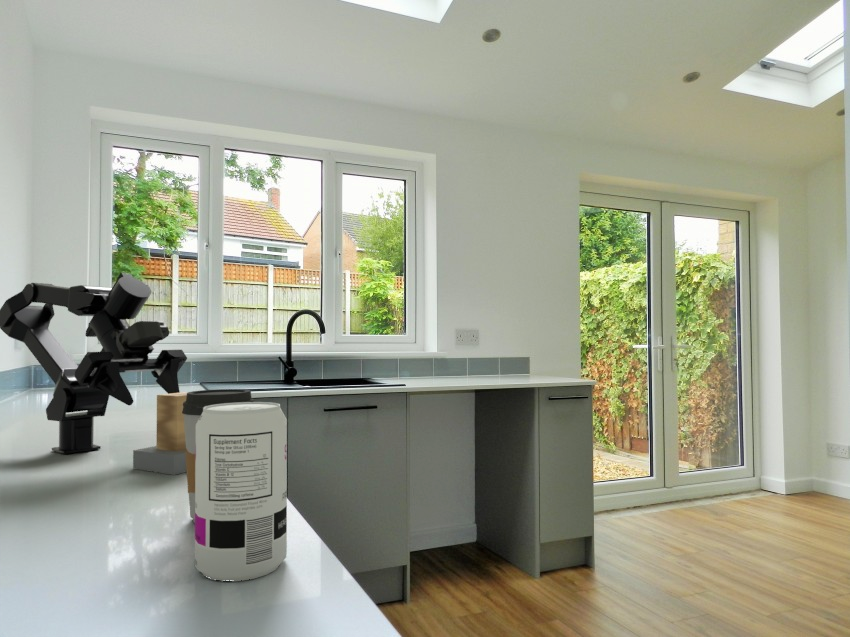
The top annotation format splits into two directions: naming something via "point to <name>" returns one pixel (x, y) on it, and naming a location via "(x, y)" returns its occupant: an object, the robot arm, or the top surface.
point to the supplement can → (240, 490)
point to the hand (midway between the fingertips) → (155, 400)
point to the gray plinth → (159, 460)
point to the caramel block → (170, 422)
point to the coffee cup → (191, 417)
